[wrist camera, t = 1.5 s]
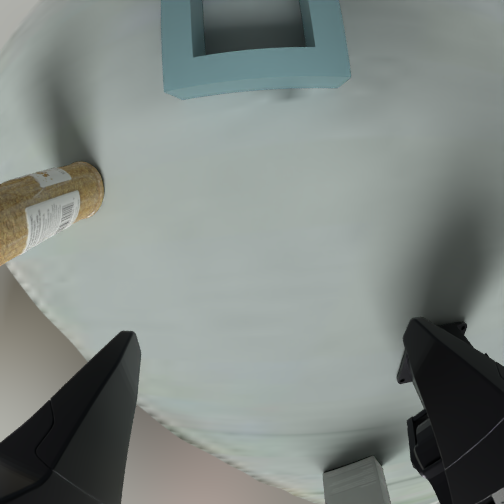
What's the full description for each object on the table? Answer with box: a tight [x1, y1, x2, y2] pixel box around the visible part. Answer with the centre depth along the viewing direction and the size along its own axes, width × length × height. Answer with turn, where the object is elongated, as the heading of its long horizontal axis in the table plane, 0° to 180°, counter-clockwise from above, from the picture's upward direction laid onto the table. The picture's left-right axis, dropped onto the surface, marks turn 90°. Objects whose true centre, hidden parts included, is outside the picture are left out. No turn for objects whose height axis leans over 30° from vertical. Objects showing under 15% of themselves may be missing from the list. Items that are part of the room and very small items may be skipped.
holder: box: [161, 0, 351, 100], centre depth 13 cm, size 10×10×4 cm
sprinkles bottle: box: [0, 162, 104, 266], centre depth 13 cm, size 5×5×13 cm
